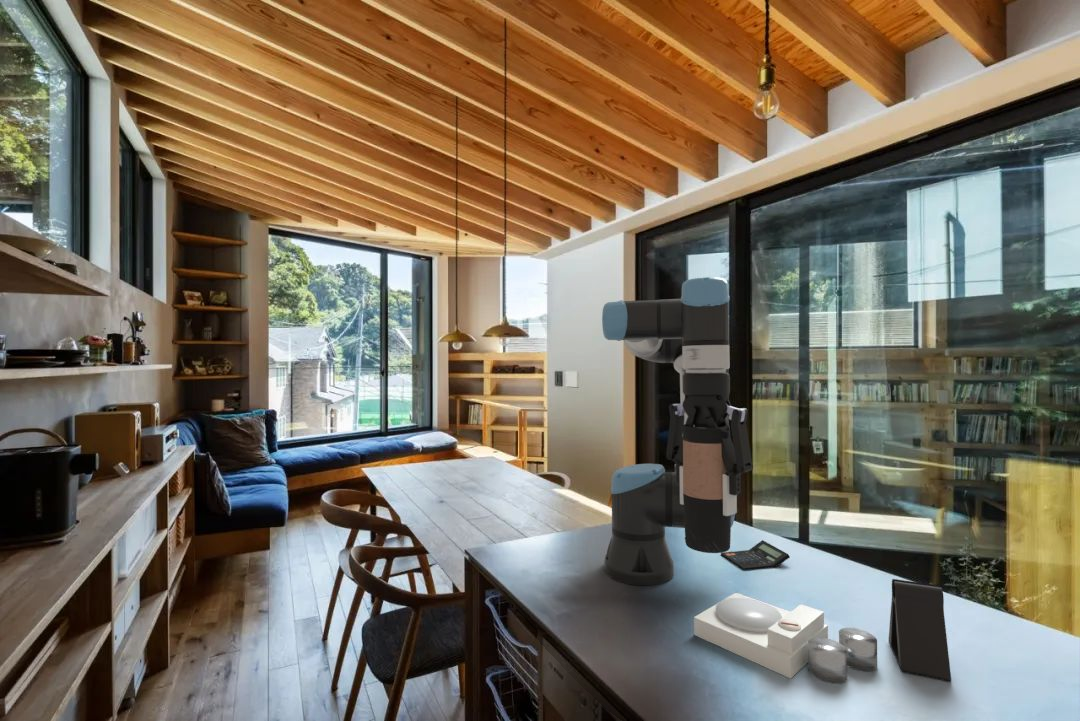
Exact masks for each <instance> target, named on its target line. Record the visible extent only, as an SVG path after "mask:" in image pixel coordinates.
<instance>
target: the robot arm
mask: <svg viewBox="0 0 1080 721" xmlns="http://www.w3.org/2000/svg"><path fill="white" fill-rule="evenodd" d="M729 304H730V295H729V284H728V281H727V280H726V279H725V278H723V277H715V276H705V277H695V278H690V279H687V280H685V281H683V283H682V285H681V296H680V298H670V299H669V298H668V299H666V298H665V299H654V300H653V299H651V300H619V301H617V300H616V301H610V302H609V301H608V302H606V303H604V305H603V308H602V311H601V312H602V314H601V315H602V318H601V321H602V323H601V324H602V325H601V326H602V334H603V336H604V338H605V339H606V340H608V341H617V342H618V341H620V342H621V341H623V342H624V346H625V347H626V349H627V351H629V352H630V353H631V355H633V356H635V357H638V358H640V359H642V360H645V361H649V362H653V363H658V364H659V363H660V364H664V363H665V364H670V363H671V364H673V368H674V370H675V371H676V372H677V373H679V388H680V389H679V390H680V391H679V394H680V396H679V397H680V403H672V404H669V405H668V413H669V417H670V419H669V428H668V435H667V445H666V454H665V457H666V459H667V460H669V461H673V463H674V472H668V471H666V469H665V466H663V464H659V463H638V464H632V465H625V466H623V467H620V468H618V469H616V470H615V471H614V472H613V474H612V476H611V486H610V487H611V489H610V494H611V537H610V540H609V544H608V548H607V550H606V555H605V557H604V564H603V565H604V572H605V573H606V575H607V576H608V577H610V578H611V579H613V580H615V581H617V582H620V583H623V584H629V585H636V586H654V585H660V584H664V583H666V582H668V581H670V580H671V579H672V578H673V577H674V573H675V570H674V569H675V568H674V567H675V566H674V560H673V559H672V556H671V552H670V549H669V546H668V543H667V540H666V528H677V529H678V528H679V529H685V523H684V501H683V425H684V424H685V426H687V427H694V428H696V427H706V428H719V429H722V430H723V431H728V429H729V427H728V426H729V425H728V422H727V417H728V419H729V420H730V431H731V433H730V434H729V437H728V438H727V439H724V438H722V437H721V449H722V459H723V462H724V465H725V468H726V470H727V472H726V473H725V474H722V477H723V515H724V516H730V515H731V528H732V527H733V525H734V522H735V517H736V516H735V515H736V514H737V513H738V508H737V505H738V503H737V500H738V498H737V497H738V495H740V494H741V492H742V488H741V487H742V474H743V473H748V472H750V471H752V470H753V469H754V466H753V458H752V452H751V444H750V439H749V433H748V432H749V431H748V427H747V421H748V420H747V419H748V414H749V411H748V409H747V408H745V407H742V408H738V407H735V406H732V405H731V402H730V399H729V396H730V393H731V376H730V374H729V373H728V372H726V371H727V370H729V369H730V367H731V366H730V364H731V363H730V360H731V358H730V356H731V355H730V337H729V336H730V334H729V332H730V331H729V330H730V327H729V326H730V325H729V324H730V320H729V319H730V317H729V316H730V313H729V312H730V305H729ZM728 415H729V416H728ZM719 426H720V427H719ZM731 435H732V438H731Z"/></svg>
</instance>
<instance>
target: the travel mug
mask: <svg viewBox="0 0 1080 721" xmlns="http://www.w3.org/2000/svg"><path fill="white" fill-rule="evenodd" d="M719 427H720V426H719ZM728 427H729V429H728V431H723V430H722V429H719V428H706V427H696V428H694V427H687V426H685V424H684V425H683V501H684V523H685V528H684V540H685V545H686V547H688V548H689V549H691V550H693V551H696V552H700V553H706V554H721V553H724V552H729V550H730V549H731V532H732V527H731V515H730V516H724V515H723V477H722V474H725V473H726V472H727V470H726V468H725V465H724V462H723V459H722V449H721V437H722V438H724V439H727V438H728V437H729V434H730V435H731V425H728Z"/></svg>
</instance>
